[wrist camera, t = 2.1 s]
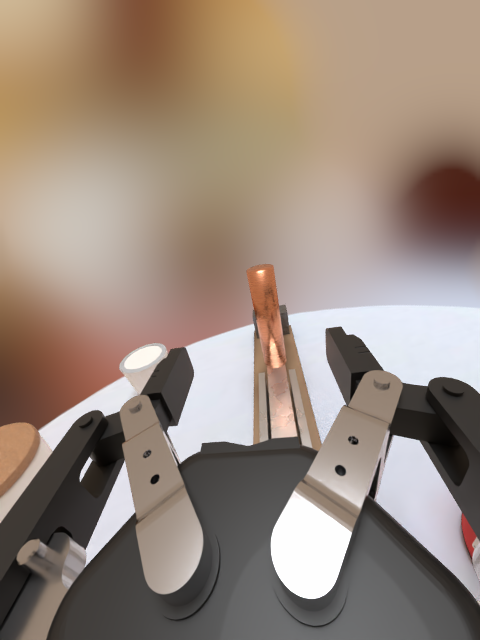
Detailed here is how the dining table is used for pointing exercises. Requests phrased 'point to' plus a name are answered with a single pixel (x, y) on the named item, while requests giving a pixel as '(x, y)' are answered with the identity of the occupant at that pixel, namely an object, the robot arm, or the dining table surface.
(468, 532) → the canned food
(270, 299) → the sliding bolt with handle
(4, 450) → the lidded jar
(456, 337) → the dining table surface
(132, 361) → the beige cylindrical piece
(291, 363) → the plank
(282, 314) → the socket block
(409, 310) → the dining table surface
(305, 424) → the guide sleeve
